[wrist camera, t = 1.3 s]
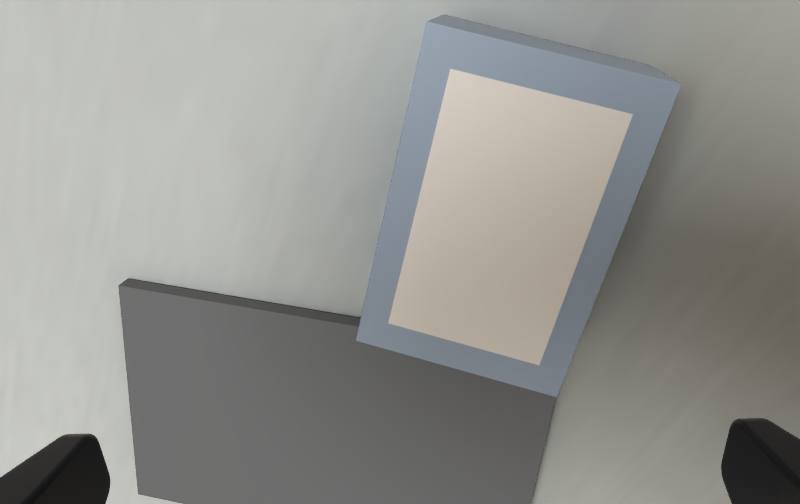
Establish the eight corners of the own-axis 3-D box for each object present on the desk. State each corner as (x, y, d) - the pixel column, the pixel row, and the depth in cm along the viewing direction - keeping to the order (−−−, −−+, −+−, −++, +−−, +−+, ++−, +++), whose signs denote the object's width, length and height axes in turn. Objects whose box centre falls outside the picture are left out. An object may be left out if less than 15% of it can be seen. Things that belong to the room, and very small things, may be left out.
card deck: (647, 64, 18) (682, 84, 14) (549, 328, 22) (556, 398, 18) (443, 14, 18) (426, 21, 15) (381, 282, 22) (355, 341, 18)
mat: (563, 352, 22) (564, 361, 21) (514, 560, 26) (514, 573, 25) (127, 278, 23) (118, 285, 23) (145, 483, 28) (138, 493, 27)
